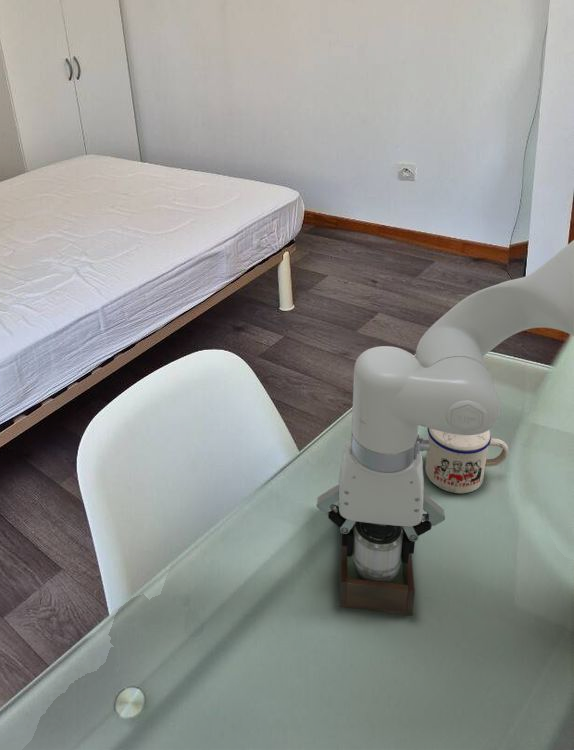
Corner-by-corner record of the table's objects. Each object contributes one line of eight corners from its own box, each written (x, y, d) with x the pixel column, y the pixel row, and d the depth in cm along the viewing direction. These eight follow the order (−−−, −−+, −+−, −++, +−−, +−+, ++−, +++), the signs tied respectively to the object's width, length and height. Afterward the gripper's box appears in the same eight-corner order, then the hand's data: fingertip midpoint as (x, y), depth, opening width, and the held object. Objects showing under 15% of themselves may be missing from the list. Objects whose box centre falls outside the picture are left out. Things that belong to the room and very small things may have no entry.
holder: (404, 511, 103) (406, 488, 101) (412, 615, 87) (414, 591, 85) (342, 505, 105) (342, 482, 103) (339, 606, 89) (340, 582, 87)
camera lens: (399, 591, 88) (402, 547, 84) (348, 581, 89) (350, 537, 86) (401, 552, 93) (405, 509, 89) (354, 543, 95) (356, 500, 91)
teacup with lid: (427, 493, 105) (433, 434, 100) (420, 452, 113) (425, 395, 108) (510, 499, 103) (521, 438, 98) (497, 457, 111) (506, 399, 106)
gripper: (455, 429, 83) (443, 535, 91) (312, 418, 87) (311, 521, 95) (464, 473, 77) (449, 584, 85) (308, 460, 81) (308, 567, 88)
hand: (376, 550), depth 90 cm, fingers closed on camera lens, 6 cm apart
